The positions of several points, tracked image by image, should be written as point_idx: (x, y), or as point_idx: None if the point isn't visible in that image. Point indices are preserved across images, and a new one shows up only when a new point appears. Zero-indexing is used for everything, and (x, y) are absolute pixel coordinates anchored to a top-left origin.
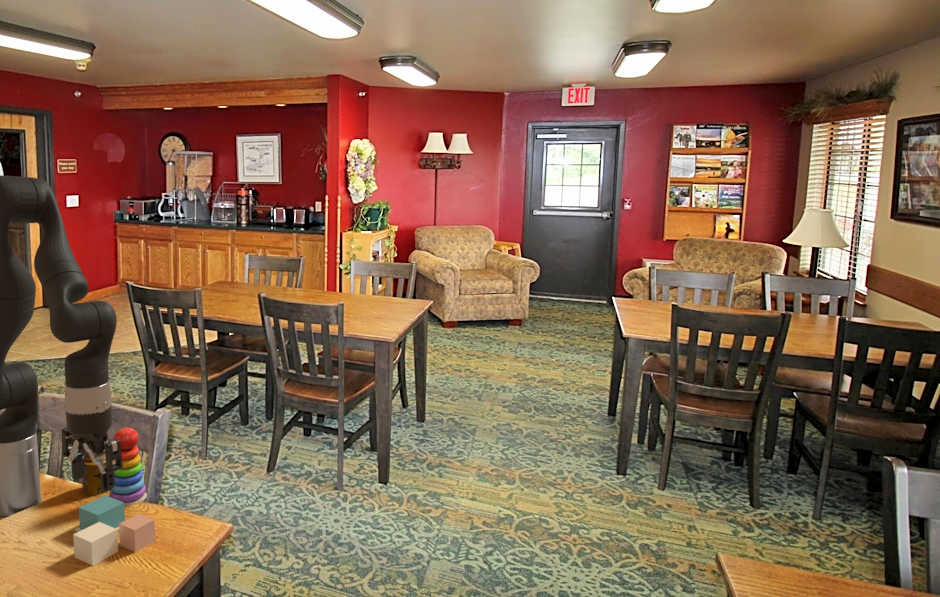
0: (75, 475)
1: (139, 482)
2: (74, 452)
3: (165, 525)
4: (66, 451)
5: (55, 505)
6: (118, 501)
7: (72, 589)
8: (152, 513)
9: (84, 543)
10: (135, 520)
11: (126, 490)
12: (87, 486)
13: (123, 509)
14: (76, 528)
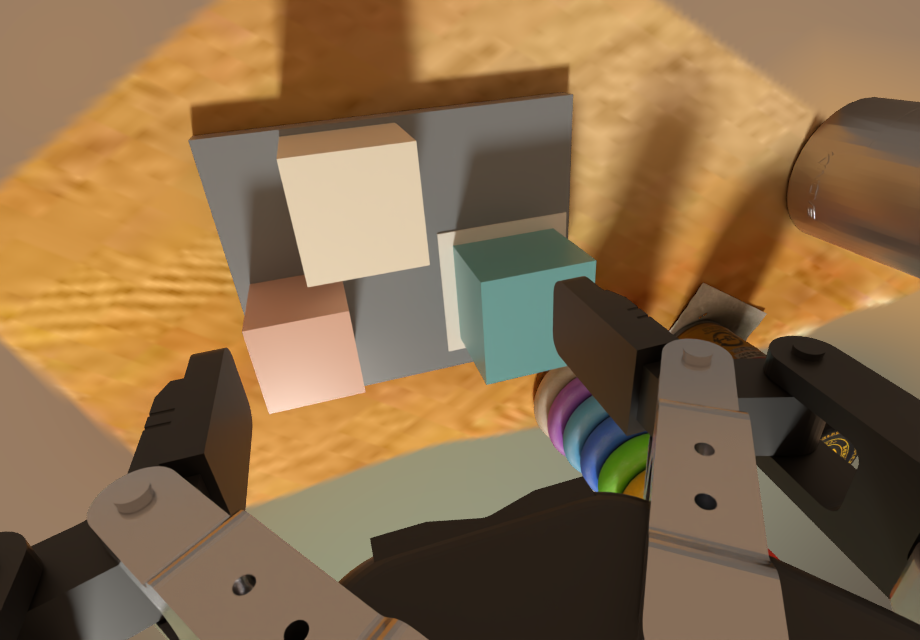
0: (572, 301)
1: (576, 462)
2: (669, 447)
3: (375, 415)
4: (808, 388)
5: (747, 248)
6: (511, 374)
7: (206, 8)
8: (471, 414)
9: (331, 147)
10: (323, 364)
11: (578, 417)
12: (722, 346)
13: (477, 366)
14: (565, 221)
